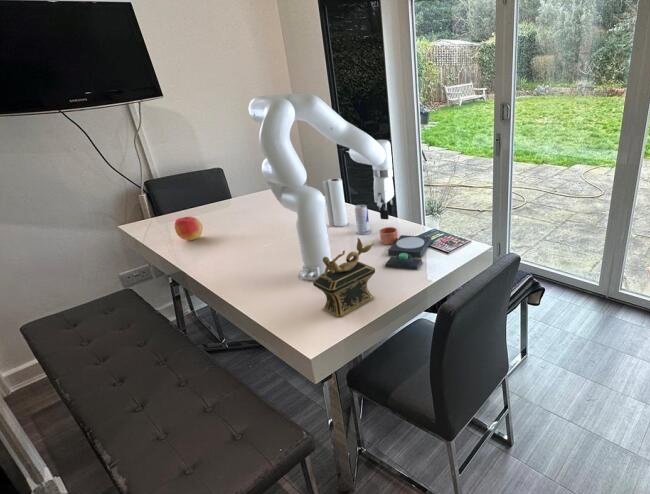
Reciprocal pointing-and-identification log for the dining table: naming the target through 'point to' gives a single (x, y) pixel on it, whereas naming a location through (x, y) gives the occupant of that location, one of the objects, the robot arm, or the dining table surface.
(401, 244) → the scale
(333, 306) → the decorative box
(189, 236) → the apple
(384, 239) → the bowl
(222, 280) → the dining table surface
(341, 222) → the paper towel roll
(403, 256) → the tare button
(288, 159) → the robot arm
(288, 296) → the dining table surface
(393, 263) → the scale panel
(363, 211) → the energy drink
